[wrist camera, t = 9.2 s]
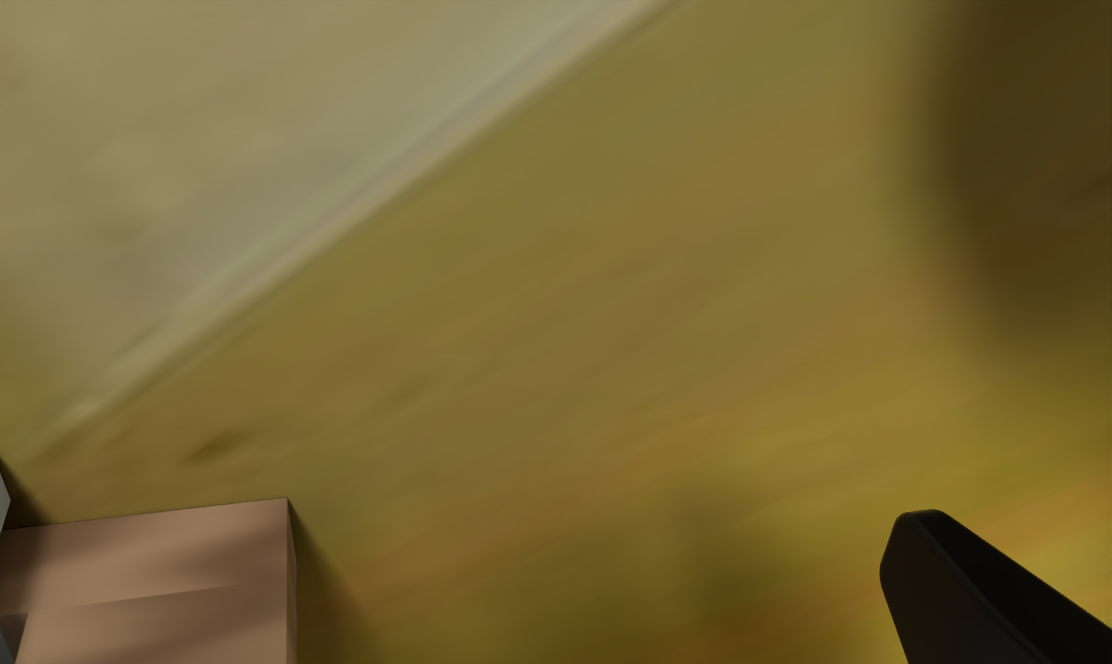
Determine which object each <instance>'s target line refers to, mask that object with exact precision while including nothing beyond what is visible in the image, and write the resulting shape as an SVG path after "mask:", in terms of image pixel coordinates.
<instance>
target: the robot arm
mask: <svg viewBox="0 0 1112 664" xmlns="http://www.w3.org/2000/svg"><path fill="white" fill-rule="evenodd" d="M880 582H881V587H882V590H883V593H884V596H885V599H886V602H887V604H888V607H889V610H890V613H891V616H892V619H893V622H894V624H895V627H896V630H897V633H898V636H899V639H900V641H901V644H902V647H903V650H904V653H905V656H906V658H907V661H908V664H1112V629H1111V628H1110V627H1109V626H1107V625H1106V624H1104V623H1103V622H1101V621H1100V620H1099V619H1097V618H1096V617H1094V616H1093V615H1091V614H1090V613H1088V612H1087V611H1086V610H1084V609H1083V608H1081V607H1080V606H1078V605H1077V604H1076V603H1074V602H1073V601H1071V600H1070V599H1068V598H1067V597H1065V596H1064V595H1063V594H1061V593H1060V592H1058V591H1057V590H1055V589H1054V588H1053V587H1051V586H1050V585H1048V584H1047V583H1045V582H1044V581H1042V580H1041V579H1040V578H1038V577H1037V576H1035V575H1034V574H1032V573H1031V572H1030V571H1028V570H1027V569H1025V568H1024V567H1022V566H1021V565H1019V564H1018V563H1017V562H1015V561H1014V560H1012V559H1011V558H1009V557H1008V556H1007V555H1005V554H1004V553H1002V552H1001V551H999V550H998V549H996V548H995V547H994V546H992V545H991V544H989V543H988V542H986V541H985V540H984V539H982V538H981V537H979V536H978V535H976V534H975V533H973V532H972V531H971V530H969V529H968V528H966V527H965V526H963V525H962V524H961V523H959V522H958V521H956V520H955V519H953V518H952V517H951V516H949V515H948V514H946V513H944V512H942V511H940V510H935V509H929V510H921V511H913V512H905V513H902V514H901V515H900V516H899V517H898V518H897V519H896V521H895V523H894V526H893V529H892V532H891V534H890V537H889V540H888V543H887V546H886V549H885V552H884V555H883V558H882V561H881V564H880Z"/></svg>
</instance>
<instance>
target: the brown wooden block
mask: <svg viewBox="0 0 1112 664" xmlns="http://www.w3.org/2000/svg"><path fill="white" fill-rule="evenodd" d="M0 629H1V632H2V634H3V636H4V639H5V641H6V643H7V646H8V648H9V650H10V653H11V655H12V657H13V660H14V662H15V664H297V561H296V554H295V548H294V541H293V534H292V528H291V521H290V515H289V508H288V501H287V498H280V499H271V500H263V501H254V502H245V503H236V504H228V505H219V506H210V507H201V508H193V509H184V510H175V511H167V512H158V513H149V514H140V515H132V516H123V517H114V518H105V519H97V520H88V521H79V522H70V523H62V524H53V525H44V526H35V527H27V528H18V529H9V530H1V533H0Z"/></svg>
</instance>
